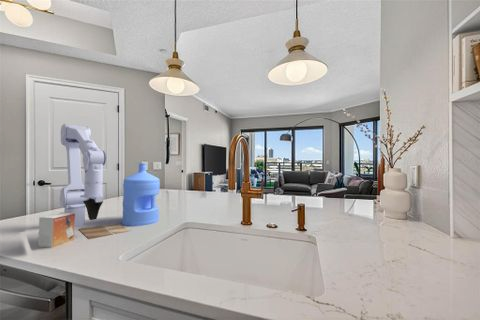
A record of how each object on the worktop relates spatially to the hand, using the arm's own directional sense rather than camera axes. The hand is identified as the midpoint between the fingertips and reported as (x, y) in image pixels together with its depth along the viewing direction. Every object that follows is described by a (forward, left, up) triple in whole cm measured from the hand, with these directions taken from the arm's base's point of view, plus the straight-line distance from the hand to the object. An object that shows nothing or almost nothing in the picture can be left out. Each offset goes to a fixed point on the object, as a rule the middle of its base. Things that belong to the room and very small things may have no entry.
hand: (92, 219), depth 85 cm
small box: (+1, -11, -7) cm, 13 cm away
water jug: (-8, +21, -7) cm, 24 cm away
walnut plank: (-4, +2, -7) cm, 8 cm away
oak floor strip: (-4, +9, -7) cm, 13 cm away
